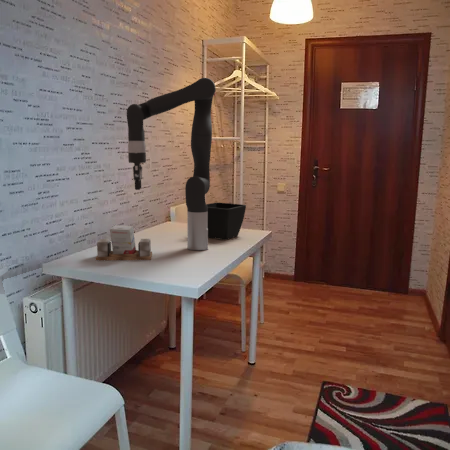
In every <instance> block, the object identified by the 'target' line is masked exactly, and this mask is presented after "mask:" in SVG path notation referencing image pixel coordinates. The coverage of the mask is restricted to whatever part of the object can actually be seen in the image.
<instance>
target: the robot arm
mask: <svg viewBox="0 0 450 450" xmlns="http://www.w3.org/2000/svg"><path fill="white" fill-rule="evenodd" d="M216 87H217V86H216V84H215V82H214V81H213V80H212V79H211V78H208V77H202V78H199V79H197V80H196V81H195V82H193V83H191V84H189V85H187V86H185V87H182V88H180V89H177V90H173V91H171V92H168V93H163V94H161V95H157V96H156V97H152V98H150V99H148V100H147V101H145V102H141V103H139V104H137V103H132V104H130V105H128V107H127V109H126V122H127V129H128V132H127V138H128V139H127V140H128V144H127V153H128V163H130V164H133V166H132V175H133V181H134V189H135V190H136V191H140V190H141V189H142V178H143V165H141V164H145V163H146V162H147V153H146V152H147V151H146V150H147V149H146V148H147V146H146V141H145V140H146V136H145V133H146V132H145V130H144V120H147V119H148V118H151V117H153V116H157V115H160V114H163V113H166V112H169V111H171V110H174V109H176V108H178V107H180V106H182V105H185V104H187V103H190V102H194V114H193V118H192V125H191V133H190V149H191V155H192V160H193V175H192V176H191V177H189V178H188V179H187V180H186V182H185V189H184V190H185V194H184V195H185V205H186V209H187V213H186V214H187V218H186V221H187V222H186V223H187V228H186V229H187V231H186V232H187V240H186V241H187V242H186V243H187V244H186V245H187V249H188V250H189V251H205V250H208V249H209V237H208V206H207V205H206V204H207V203H206V194H207V193H209V190H210V188H211V178H210V176H211V175H210V174H211V173H210V165H211V164H210V162H211V152H212V140H213V127H212V126H213V123H212V105H213V99H214V95H215V93H216V89H217V88H216Z"/></svg>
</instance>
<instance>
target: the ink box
mask: <svg viewBox="0 0 450 450" xmlns="http://www.w3.org/2000/svg"><path fill="white" fill-rule="evenodd" d="M109 233H110V242H111V250H112V251H113V254H135V252H136V250H137V246H136V241H135V240H136V239H135V231H134V226H133V225H115V224H114V225H113V226H112V227H111V228H110V229H109Z"/></svg>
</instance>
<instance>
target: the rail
mask: <svg viewBox="0 0 450 450" xmlns="http://www.w3.org/2000/svg"><path fill="white" fill-rule="evenodd" d="M151 248H152V247H151V238H140V240H139V242H138V249H136V252H135V254H113V250H112V242H111V238H99V240H98V241H97V242H96V249H97V250H96V251H97V252H96V253H97V254H96V256H95V261H96V260H99V261H100V262H103V261H104V260H105V261H151V260H152V258H153V251H151ZM99 261H98V262H99Z"/></svg>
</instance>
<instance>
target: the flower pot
mask: <svg viewBox="0 0 450 450" xmlns="http://www.w3.org/2000/svg"><path fill="white" fill-rule="evenodd" d="M206 205H207V206H208V239H211V238H212V239H216V240H217V239H218V240H224V241H226V240H230V239H232V238H235V237H238V236H239V233H240V231H241V228H242V225H243V222H244V219H245V214H246V208H247V205H246V204H242V203H241V204H240V203H228V202H219V201H218V202H212V203H206Z"/></svg>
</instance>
